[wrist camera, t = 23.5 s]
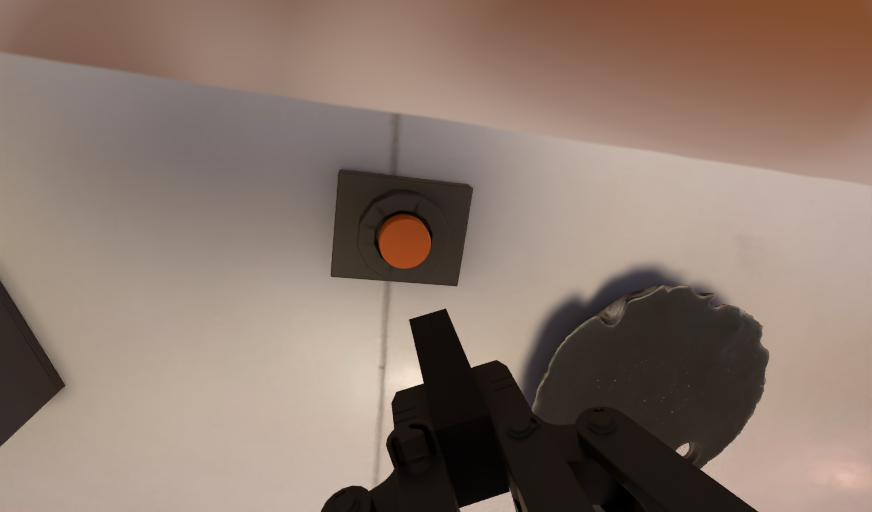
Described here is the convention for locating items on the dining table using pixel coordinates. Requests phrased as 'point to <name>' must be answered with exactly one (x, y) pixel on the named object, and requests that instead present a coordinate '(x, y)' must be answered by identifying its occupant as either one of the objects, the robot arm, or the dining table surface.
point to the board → (662, 369)
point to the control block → (391, 195)
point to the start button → (404, 241)
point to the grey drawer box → (21, 371)
